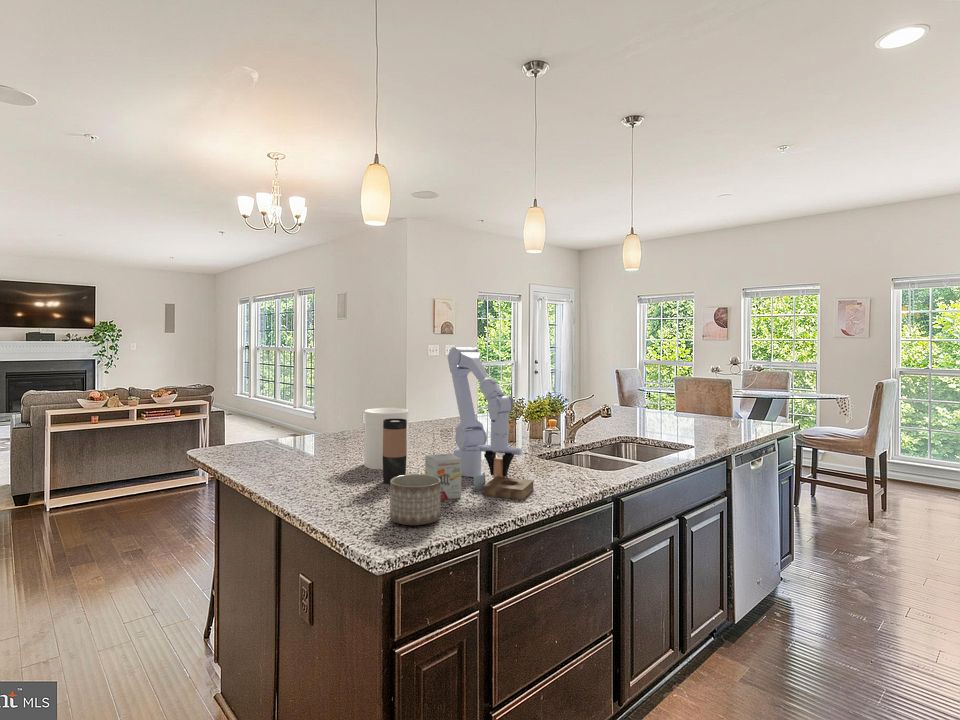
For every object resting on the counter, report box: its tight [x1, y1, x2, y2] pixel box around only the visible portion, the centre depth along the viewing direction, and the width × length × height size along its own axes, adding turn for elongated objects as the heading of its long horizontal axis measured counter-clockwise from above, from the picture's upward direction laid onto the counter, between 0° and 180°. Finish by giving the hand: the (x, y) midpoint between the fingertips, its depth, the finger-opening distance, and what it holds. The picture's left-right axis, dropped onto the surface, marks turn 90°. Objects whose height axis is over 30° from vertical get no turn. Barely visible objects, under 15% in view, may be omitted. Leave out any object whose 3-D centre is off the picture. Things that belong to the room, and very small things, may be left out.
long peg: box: [492, 457, 503, 479], centre depth 173 cm, size 4×4×8 cm
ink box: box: [424, 453, 462, 501], centre depth 159 cm, size 9×9×12 cm
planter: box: [389, 473, 441, 526], centre depth 136 cm, size 13×13×10 cm
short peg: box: [473, 474, 486, 491], centre depth 167 cm, size 4×4×4 cm
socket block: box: [483, 476, 534, 501], centre depth 163 cm, size 12×12×3 cm
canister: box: [363, 407, 410, 471], centre depth 198 cm, size 16×16×20 cm
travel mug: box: [382, 419, 407, 485], centre depth 174 cm, size 8×8×20 cm
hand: (498, 475), depth 173 cm, fingers closed on long peg, 4 cm apart
